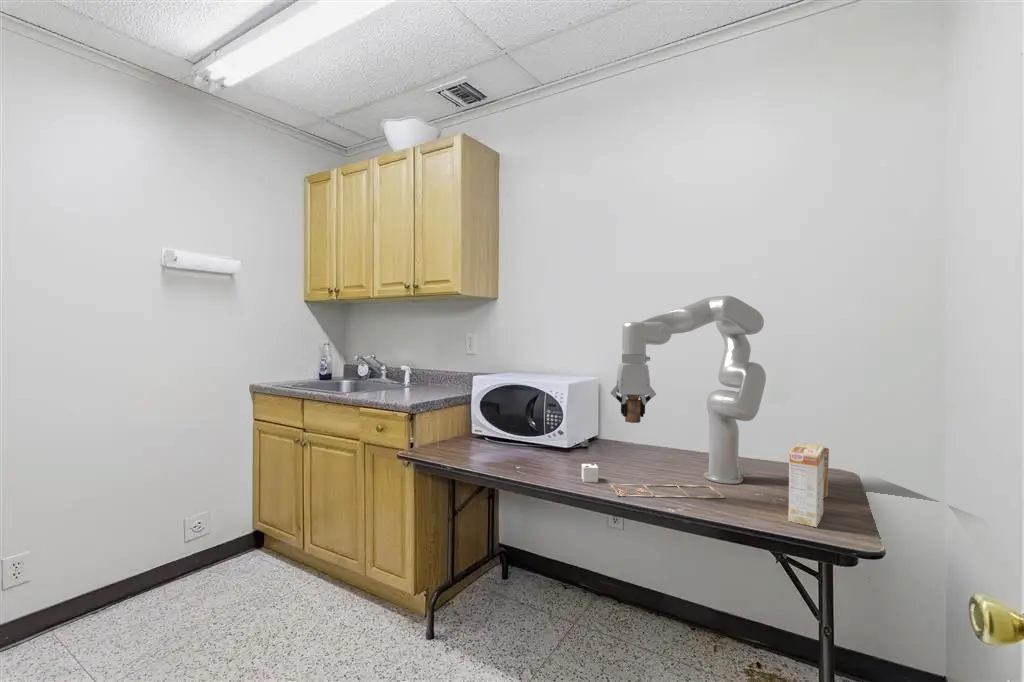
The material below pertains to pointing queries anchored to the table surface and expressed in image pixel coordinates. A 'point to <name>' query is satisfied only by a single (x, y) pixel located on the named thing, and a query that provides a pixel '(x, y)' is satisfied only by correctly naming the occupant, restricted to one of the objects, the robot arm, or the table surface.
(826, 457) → the candy box
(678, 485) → the board
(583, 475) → the die
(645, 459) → the table surface
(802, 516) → the coffeecake box
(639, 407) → the pawn
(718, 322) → the robot arm
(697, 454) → the table surface
